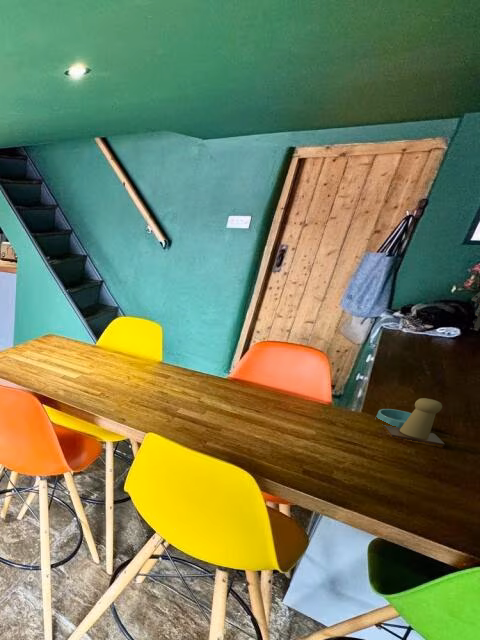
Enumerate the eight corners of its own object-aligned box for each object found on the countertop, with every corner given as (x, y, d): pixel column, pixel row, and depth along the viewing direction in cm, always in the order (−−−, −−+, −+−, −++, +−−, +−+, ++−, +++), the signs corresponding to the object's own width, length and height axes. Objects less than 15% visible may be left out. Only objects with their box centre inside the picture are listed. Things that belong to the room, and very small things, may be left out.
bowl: (416, 421, 129) (419, 413, 128) (430, 436, 120) (435, 427, 119) (370, 414, 134) (373, 406, 133) (381, 428, 125) (385, 419, 124)
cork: (398, 433, 119) (415, 399, 115) (400, 426, 123) (416, 394, 118) (428, 441, 115) (446, 406, 110) (428, 434, 118) (446, 400, 114)
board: (432, 437, 120) (434, 433, 119) (442, 448, 114) (445, 443, 113) (382, 429, 125) (384, 425, 124) (390, 439, 119) (392, 434, 118)
